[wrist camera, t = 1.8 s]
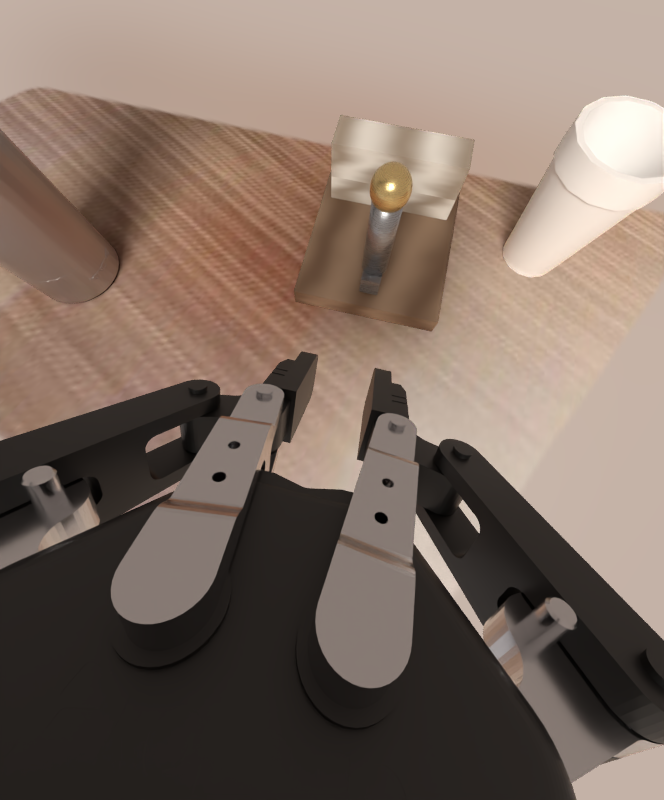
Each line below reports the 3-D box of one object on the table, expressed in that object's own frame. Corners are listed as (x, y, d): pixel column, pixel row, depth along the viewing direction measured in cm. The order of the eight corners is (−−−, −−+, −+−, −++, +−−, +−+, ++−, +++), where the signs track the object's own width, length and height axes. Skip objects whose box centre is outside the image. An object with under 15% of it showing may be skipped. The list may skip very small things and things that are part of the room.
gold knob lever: (353, 290, 32) (367, 184, 20) (370, 224, 34) (391, 94, 23) (382, 296, 32) (412, 193, 20) (397, 229, 34) (432, 101, 22)
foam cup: (482, 274, 35) (566, 164, 23) (498, 215, 38) (583, 84, 25) (561, 298, 35) (693, 197, 22) (572, 236, 37) (699, 113, 24)
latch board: (295, 301, 34) (285, 251, 27) (331, 182, 39) (332, 109, 31) (431, 331, 34) (462, 288, 26) (453, 206, 38) (485, 137, 30)
